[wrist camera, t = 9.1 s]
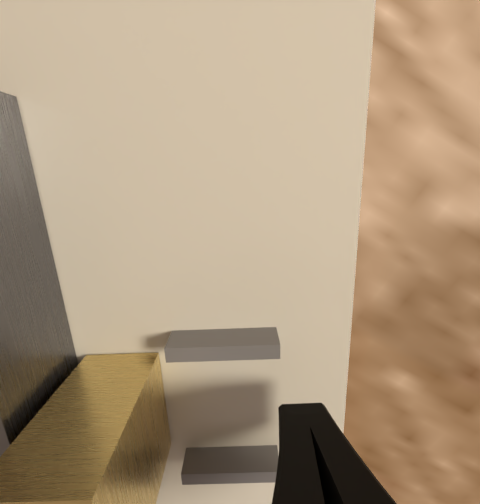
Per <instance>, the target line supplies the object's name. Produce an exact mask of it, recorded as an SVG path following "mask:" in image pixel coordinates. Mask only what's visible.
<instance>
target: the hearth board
mask: <svg viewBox="0 0 480 504" xmlns="http://www.w3.org/2000/svg"><path fill="white" fill-rule="evenodd" d="M375 4H376V0H0V91H1V92H4V93H7V94H10V95H13V96H16V97H17V101H18V105H19V110H20V114H21V118H22V123H23V127H24V131H25V136H26V140H27V144H28V149H29V153H30V157H31V162H32V166H33V170H34V175H35V179H36V184H37V188H38V192H39V197H40V201H41V205H42V210H43V214H44V218H45V223H46V227H47V231H48V236H49V240H50V244H51V249H52V253H53V257H54V262H55V266H56V270H57V275H58V279H59V283H60V288H61V292H62V296H63V301H64V305H65V309H66V314H67V318H68V322H69V327H70V331H71V335H72V340H73V344H74V348H75V353H76V357H77V361H78V364H79V363H80V362H81V361H82V360H83V358H84V357H85V356H86V355H102V354H132V353H159V358H160V365H161V373H162V380H163V387H164V394H165V401H166V408H167V415H168V423H169V430H170V437H171V447H170V450H169V454H168V458H167V462H166V466H165V470H164V474H163V478H162V482H161V485H160V489H159V493H158V497H157V501H156V504H272V499H273V493H274V487H275V481H276V474H277V465H278V456H279V412H278V407H279V406H280V405H282V404H298V403H322V404H324V405H325V407H326V408H327V410H328V412H329V413H330V415H331V416H332V418H333V419H334V421H335V422H336V424H337V425H338V427H339V428H340V430H341V431H342V433H343V431H344V418H345V404H346V391H347V378H348V364H349V351H350V338H351V324H352V311H353V298H354V284H355V271H356V258H357V244H358V231H359V218H360V204H361V191H362V178H363V164H364V151H365V138H366V124H367V111H368V98H369V84H370V71H371V58H372V44H373V31H374V18H375Z"/></svg>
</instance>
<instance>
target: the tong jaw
mask: <svg viewBox="0 0 480 504" xmlns="http://www.w3.org/2000/svg"><path fill="white" fill-rule="evenodd" d="M77 365H78V361H77V357H76V353H75V348H74V344H73V340H72V335H71V331H70V327H69V322H68V318H67V314H66V309H65V305H64V301H63V296H62V292H61V288H60V283H59V279H58V275H57V270H56V266H55V262H54V257H53V253H52V249H51V244H50V240H49V236H48V231H47V227H46V223H45V218H44V214H43V210H42V205H41V201H40V197H39V192H38V188H37V184H36V179H35V175H34V170H33V166H32V162H31V157H30V153H29V149H28V144H27V140H26V136H25V131H24V127H23V123H22V118H21V114H20V110H19V105H18V101H17V97H16V96H13V95H10V94H7V93H4V92H1V91H0V457H1V455H2V454H3V453H4V452H5V451H6V449H7V448H8V447H9V446H10V445H11V444H12V442H13V441H14V440H15V439H16V438H17V436H18V435H19V434H20V433H21V432H22V431H23V429H24V428H25V427H26V426H27V425H28V423H29V422H30V421H31V420H32V419H33V418H34V416H35V415H36V414H37V413H38V412H39V410H40V409H41V408H42V407H43V406H44V405H45V403H46V402H47V401H48V400H49V399H50V397H51V396H52V395H53V394H54V393H55V391H56V390H57V389H58V388H59V387H60V386H61V384H62V383H63V382H64V381H65V380H66V378H67V377H68V376H69V375H70V374H71V373H72V371H73V370H74V369H75V368H76V367H77Z"/></svg>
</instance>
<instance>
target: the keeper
mask: <svg viewBox="0 0 480 504" xmlns="http://www.w3.org/2000/svg"><path fill="white" fill-rule="evenodd" d="M170 447H171V437H170V430H169V423H168V415H167V408H166V401H165V394H164V387H163V380H162V373H161V365H160V358H159V353H132V354H102V355H86V356H85V357H84V358H83V360H82V361H81V362H80V363H79V364H78V365H77V367H76V368H75V369H74V370H73V371H72V373H71V374H70V375H69V376H68V377H67V378H66V380H65V381H64V382H63V383H62V384H61V386H60V387H59V388H58V389H57V390H56V391H55V393H54V394H53V395H52V396H51V397H50V399H49V400H48V401H47V402H46V403H45V405H44V406H43V407H42V408H41V409H40V410H39V412H38V413H37V414H36V415H35V416H34V418H33V419H32V420H31V421H30V422H29V423H28V425H27V426H26V427H25V428H24V429H23V431H22V432H21V433H20V434H19V435H18V436H17V438H16V439H15V440H14V441H13V442H12V444H11V445H10V446H9V447H8V448H7V449H6V451H5V452H4V453H3V454H2V455H1V457H0V504H156V501H157V497H158V493H159V489H160V485H161V482H162V478H163V474H164V470H165V466H166V462H167V458H168V454H169V450H170Z"/></svg>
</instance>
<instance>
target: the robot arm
mask: <svg viewBox="0 0 480 504" xmlns="http://www.w3.org/2000/svg"><path fill="white" fill-rule="evenodd" d="M278 412H279V456H278V465H277V474H276V481H275V487H274V493H273V499H272V504H396V502H395V501H394V500H393V499H392V498H391V496H390V495H389V494H388V493H387V491H386V490H385V489H384V488H383V486H382V485H381V484H380V483H379V481H378V480H377V479H376V478H375V476H374V475H373V474H372V472H371V471H370V470H369V468H368V467H367V466H366V464H365V463H364V462H363V460H362V459H361V458H360V457H359V455H358V454H357V452H356V451H355V450H354V448H353V447H352V446H351V444H350V443H349V441H348V440H347V439H346V437H345V436H344V434H343V433H342V431H341V430H340V428H339V427H338V425H337V424H336V422H335V421H334V419H333V418H332V416H331V415H330V413H329V412H328V410H327V408H326V407H325V405H324V404H322V403H298V404H282V405H280V406H279V407H278Z"/></svg>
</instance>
